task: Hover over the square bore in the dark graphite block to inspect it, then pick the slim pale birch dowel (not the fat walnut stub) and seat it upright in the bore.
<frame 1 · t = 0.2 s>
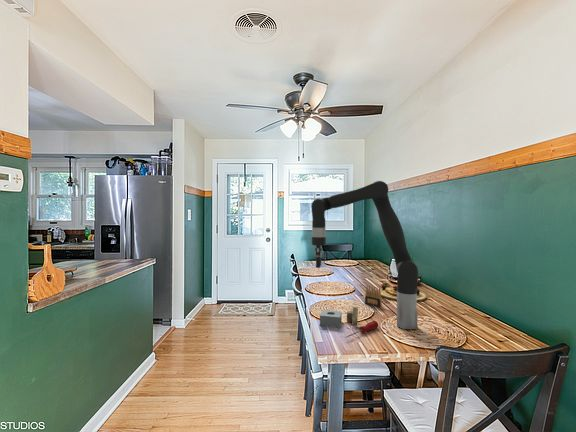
hand: (318, 266, 159), 28 cm above the table, fingers open, 8 cm apart
screwdriver: (361, 334, 139), on the table
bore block: (330, 323, 153), on the table
ammunition clip: (373, 305, 185), on the table
walnut stub: (351, 320, 156), on the table
wooden plate with food: (401, 296, 209), on the table
birch dowel: (354, 324, 151), on the table
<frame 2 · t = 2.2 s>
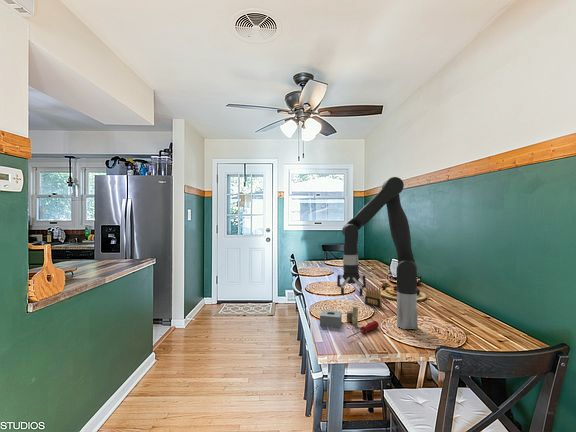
hand: (351, 295, 151), 15 cm above the table, fingers open, 8 cm apart
nothing on the table moved.
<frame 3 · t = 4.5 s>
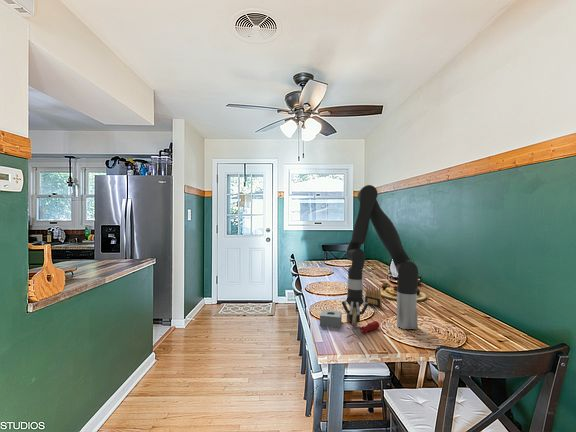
hand: (354, 321, 151), 2 cm above the table, fingers closed on birch dowel, 2 cm apart
birch dowel: (354, 324, 151), on the table, touching gripper
everything else where it was.
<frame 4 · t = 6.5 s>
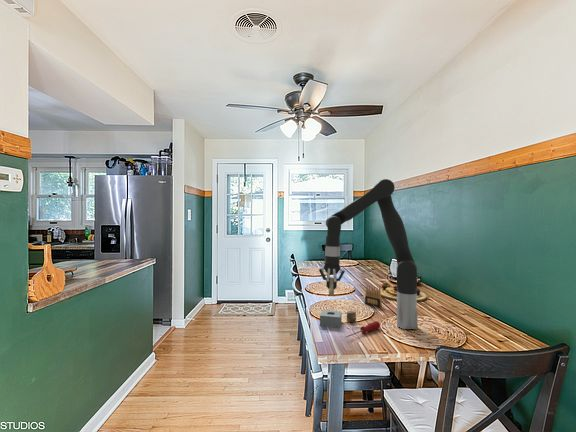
hand: (331, 288, 153), 18 cm above the table, fingers closed on birch dowel, 2 cm apart
birch dowel: (331, 295, 153), point 14 cm above the table, touching gripper
everything else where it was.
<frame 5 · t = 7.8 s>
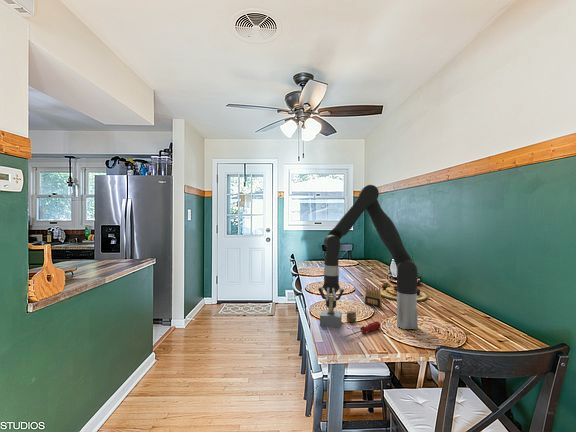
hand: (331, 307, 153), 8 cm above the table, fingers closed on birch dowel, 2 cm apart
birch dowel: (330, 314, 153), point 4 cm above the table, touching gripper
everything else where it was.
when the fingers open (5 cm above the table, at t = 8.6 s): birch dowel drops 2 cm, resting in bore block.
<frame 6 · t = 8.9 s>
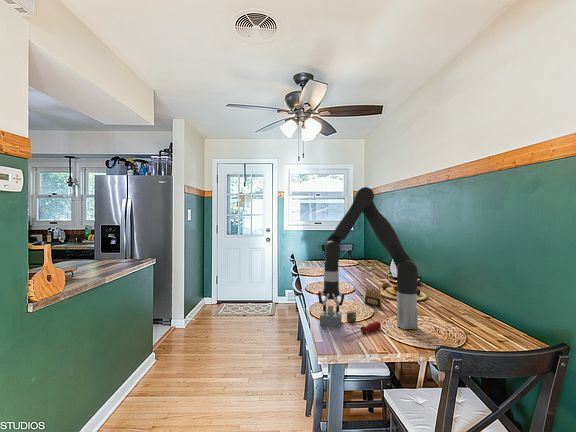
hand: (331, 312, 153), 5 cm above the table, fingers open, 5 cm apart
birch dowel: (330, 323, 153), resting in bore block
everything else where it was.
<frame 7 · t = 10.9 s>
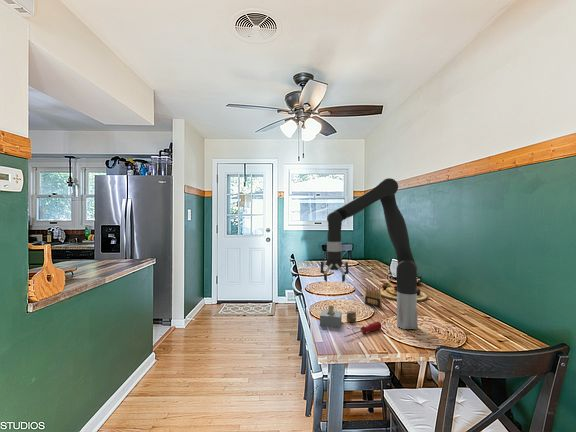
hand: (334, 281, 154), 21 cm above the table, fingers open, 8 cm apart
nothing on the table moved.
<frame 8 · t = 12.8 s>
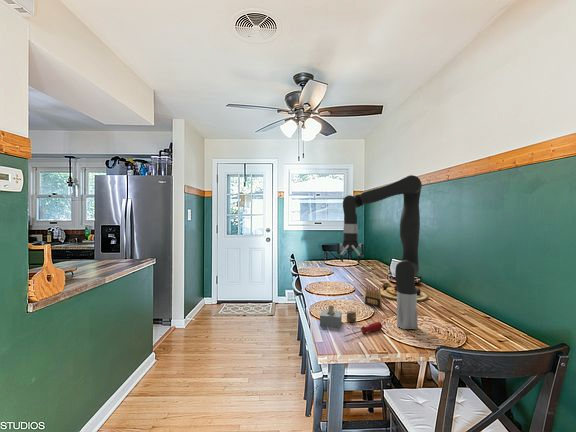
hand: (350, 262, 161), 30 cm above the table, fingers open, 8 cm apart
at the end: birch dowel 0.1 cm off-centre on the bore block, point 0.0 cm above the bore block's base; birch dowel tilted 1°; the gripper is holding nothing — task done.
